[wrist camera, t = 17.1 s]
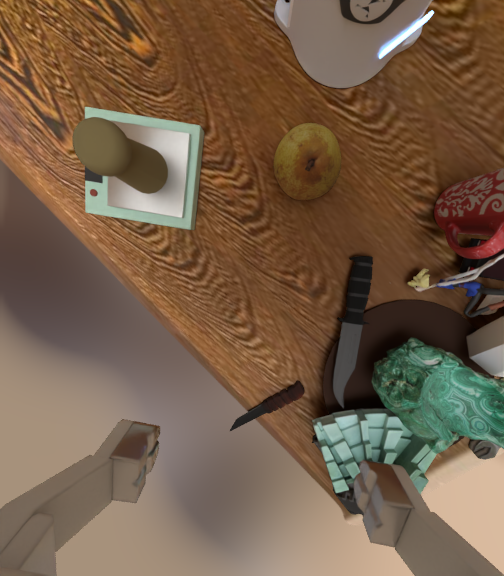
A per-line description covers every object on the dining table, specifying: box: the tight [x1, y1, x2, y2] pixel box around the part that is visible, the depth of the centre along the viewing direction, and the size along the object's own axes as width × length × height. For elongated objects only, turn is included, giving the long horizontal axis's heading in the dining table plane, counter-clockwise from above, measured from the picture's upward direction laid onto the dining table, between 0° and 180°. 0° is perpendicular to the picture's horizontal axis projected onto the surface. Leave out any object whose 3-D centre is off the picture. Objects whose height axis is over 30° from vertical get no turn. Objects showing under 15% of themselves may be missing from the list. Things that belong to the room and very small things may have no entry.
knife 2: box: [333, 256, 373, 409], centre depth 38 cm, size 25×2×5 cm
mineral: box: [372, 337, 504, 454], centre depth 34 cm, size 18×16×10 cm
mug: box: [434, 168, 504, 259], centre depth 29 cm, size 13×9×14 cm
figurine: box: [408, 254, 504, 317], centre depth 31 cm, size 10×9×20 cm
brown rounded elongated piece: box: [73, 117, 168, 194], centre depth 28 cm, size 6×6×11 cm
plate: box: [323, 300, 494, 447], centre depth 41 cm, size 28×28×4 cm
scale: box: [85, 107, 204, 230], centre depth 35 cm, size 14×16×3 cm
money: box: [312, 408, 436, 494], centre depth 38 cm, size 20×16×5 cm
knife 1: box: [230, 381, 304, 431], centre depth 45 cm, size 17×1×3 cm
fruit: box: [273, 123, 341, 200], centre depth 30 cm, size 9×9×12 cm
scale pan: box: [107, 120, 191, 218], centre depth 33 cm, size 11×11×1 cm
